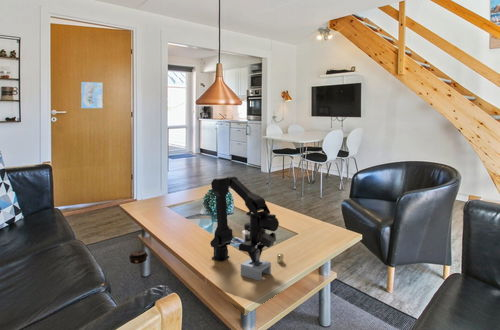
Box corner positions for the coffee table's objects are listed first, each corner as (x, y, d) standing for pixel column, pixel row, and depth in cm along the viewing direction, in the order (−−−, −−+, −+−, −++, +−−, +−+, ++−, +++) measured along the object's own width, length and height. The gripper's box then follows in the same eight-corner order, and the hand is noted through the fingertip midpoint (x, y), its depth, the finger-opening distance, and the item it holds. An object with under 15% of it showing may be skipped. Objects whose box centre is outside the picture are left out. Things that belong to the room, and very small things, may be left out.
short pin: (275, 264, 144) (276, 255, 144) (278, 262, 147) (278, 253, 147) (281, 265, 143) (281, 256, 143) (284, 263, 145) (284, 254, 145)
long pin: (251, 268, 132) (251, 248, 132) (254, 266, 135) (255, 246, 134) (257, 270, 131) (257, 249, 130) (260, 267, 133) (260, 247, 133)
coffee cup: (146, 273, 155) (145, 248, 154) (150, 279, 148) (149, 253, 147) (128, 277, 151) (127, 251, 150) (131, 283, 144) (130, 257, 143)
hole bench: (240, 275, 132) (240, 264, 132) (251, 268, 140) (251, 257, 139) (260, 280, 127) (260, 269, 126) (270, 273, 134) (270, 262, 134)
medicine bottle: (245, 246, 169) (245, 225, 169) (241, 242, 176) (242, 222, 175) (257, 245, 171) (257, 224, 170) (253, 241, 178) (253, 221, 177)
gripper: (261, 235, 119) (260, 273, 121) (282, 224, 135) (282, 258, 136) (238, 230, 126) (237, 266, 127) (261, 221, 141) (260, 253, 142)
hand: (255, 261), depth 133 cm, fingers closed on long pin, 3 cm apart
